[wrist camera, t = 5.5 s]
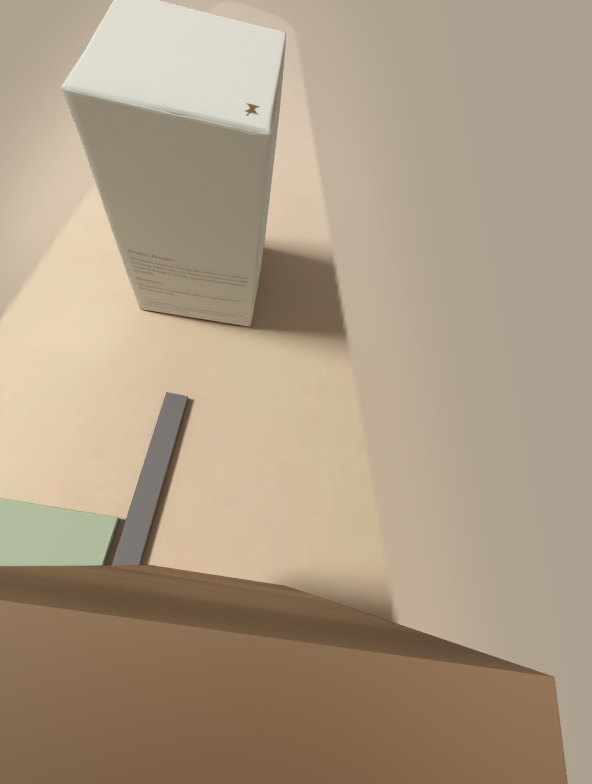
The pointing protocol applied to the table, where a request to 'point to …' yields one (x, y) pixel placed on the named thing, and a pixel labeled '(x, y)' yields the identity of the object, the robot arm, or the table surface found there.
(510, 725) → the walnut post
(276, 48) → the supplement box
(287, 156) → the table surface
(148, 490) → the charcoal strip
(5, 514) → the mat
